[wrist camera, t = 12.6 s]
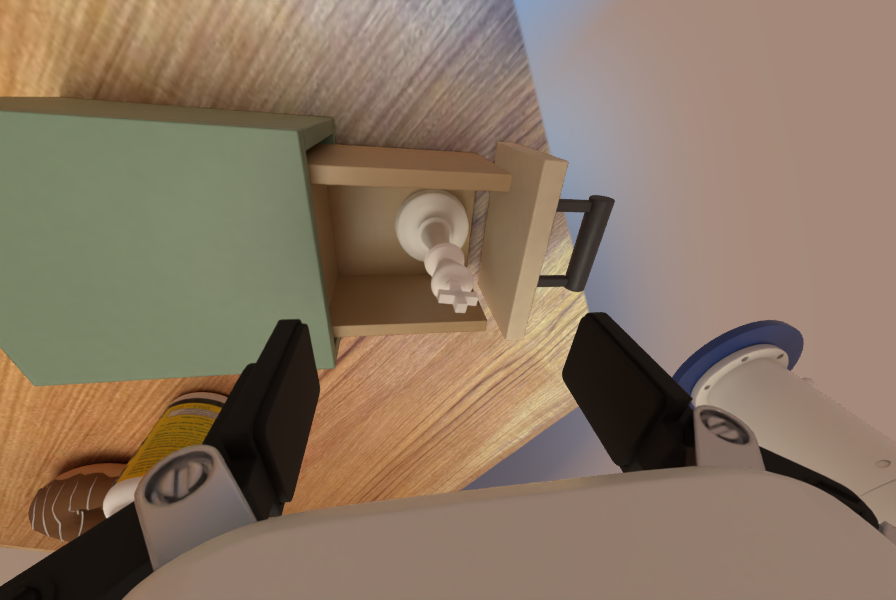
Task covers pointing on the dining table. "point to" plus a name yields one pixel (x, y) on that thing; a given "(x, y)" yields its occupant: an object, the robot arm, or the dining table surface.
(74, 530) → the donut
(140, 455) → the pill bottle
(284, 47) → the dining table surface
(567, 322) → the dining table surface
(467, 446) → the dining table surface
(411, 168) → the drawer
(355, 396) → the dining table surface
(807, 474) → the robot arm
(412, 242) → the chess piece
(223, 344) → the cabinet
